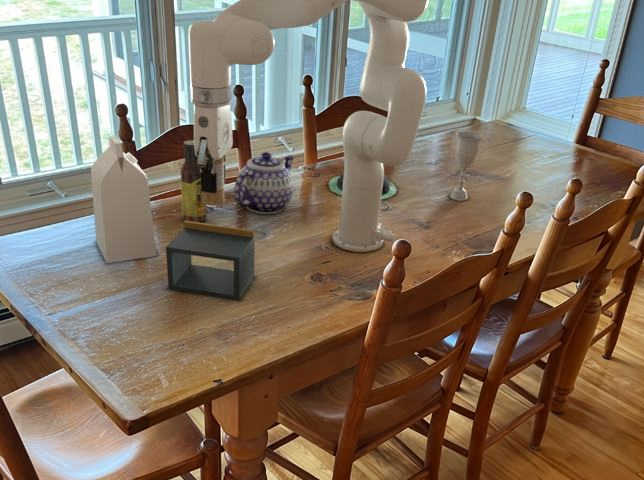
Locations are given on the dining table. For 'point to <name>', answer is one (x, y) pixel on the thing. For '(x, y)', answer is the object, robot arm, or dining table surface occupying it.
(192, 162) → the sauce bottle
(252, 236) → the shelf
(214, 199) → the sprinkles bottle
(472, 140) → the chalice
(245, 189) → the teapot
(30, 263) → the dining table surface
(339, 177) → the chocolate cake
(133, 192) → the milk
